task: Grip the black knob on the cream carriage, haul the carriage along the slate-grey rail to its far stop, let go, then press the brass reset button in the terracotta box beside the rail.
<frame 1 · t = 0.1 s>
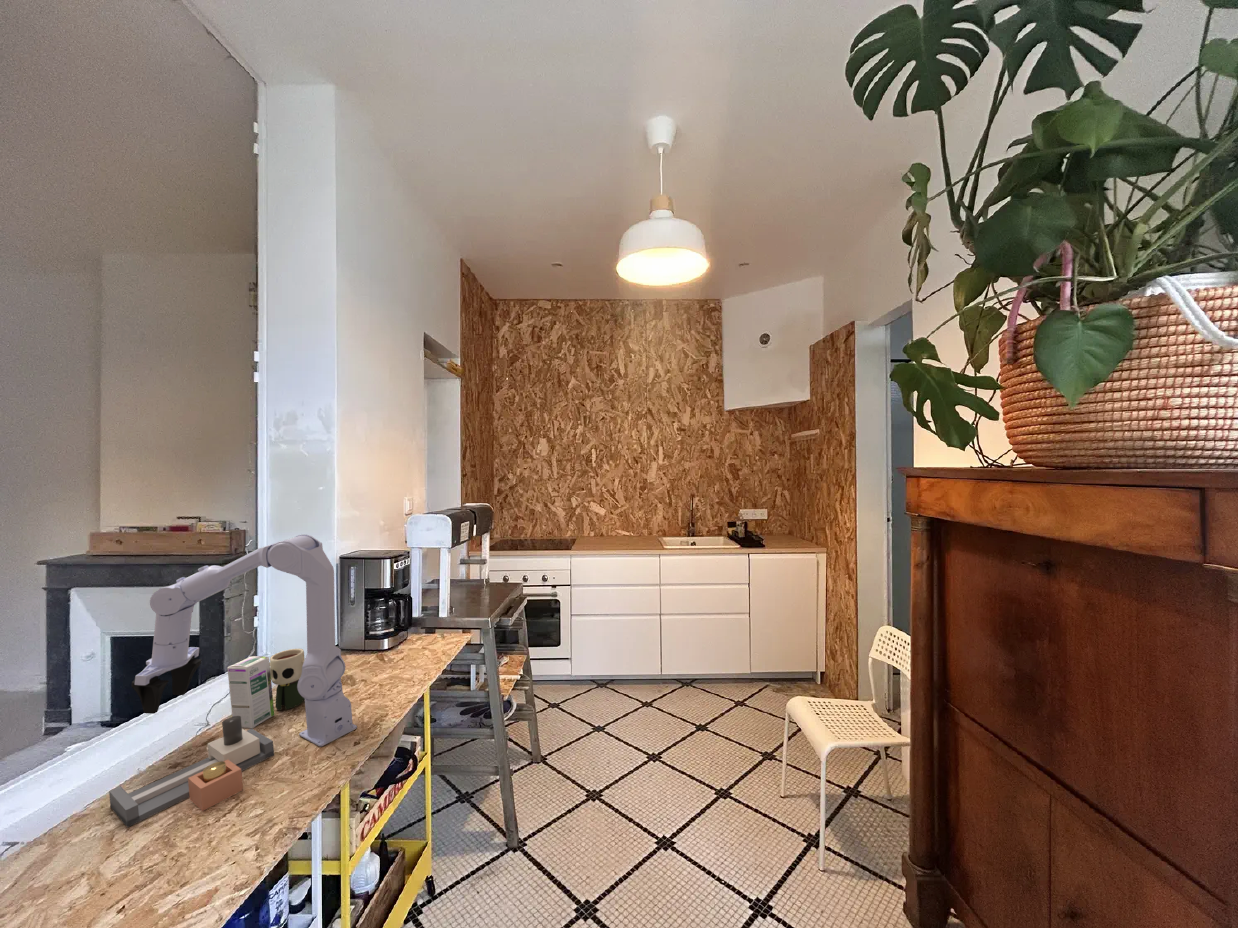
hand: (165, 703, 105), 11 cm above the counter, tool pointing down, fingers open, 7 cm apart
rail: (197, 779, 95), on the counter
character mug: (291, 706, 122), on the counter
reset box: (216, 794, 90), on the counter
reset button: (215, 774, 90), point 4 cm above the counter, slide at 0.0 cm
syrup box: (253, 722, 115), on the counter
carriage: (233, 737, 100), point 5 cm above the counter, slide at 0.0 cm
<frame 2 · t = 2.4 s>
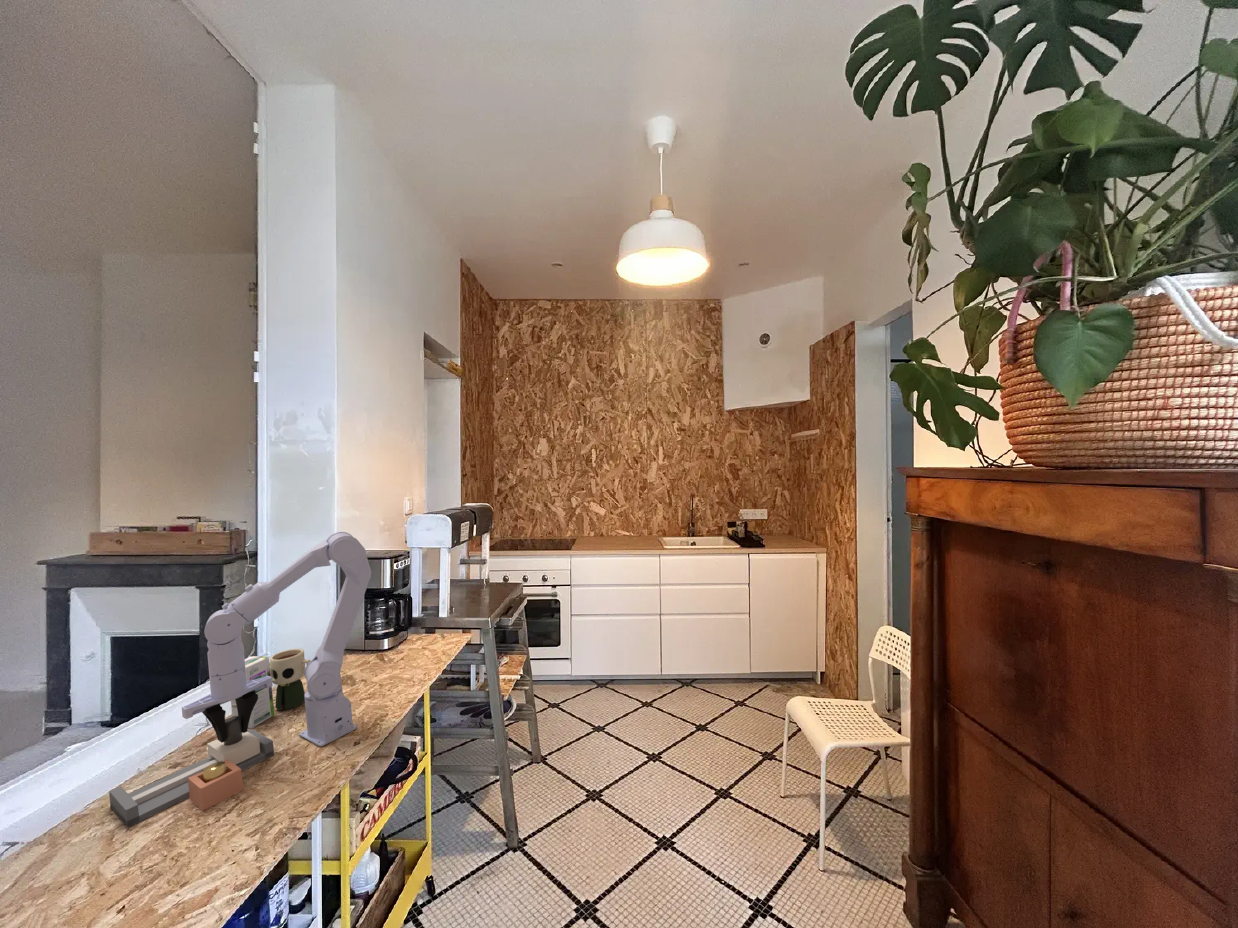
hand: (232, 735, 100), 5 cm above the counter, tool pointing down, fingers closed on carriage, 3 cm apart
carriage: (233, 737, 100), point 5 cm above the counter, slide at 0.0 cm, touching gripper
everything else where it was.
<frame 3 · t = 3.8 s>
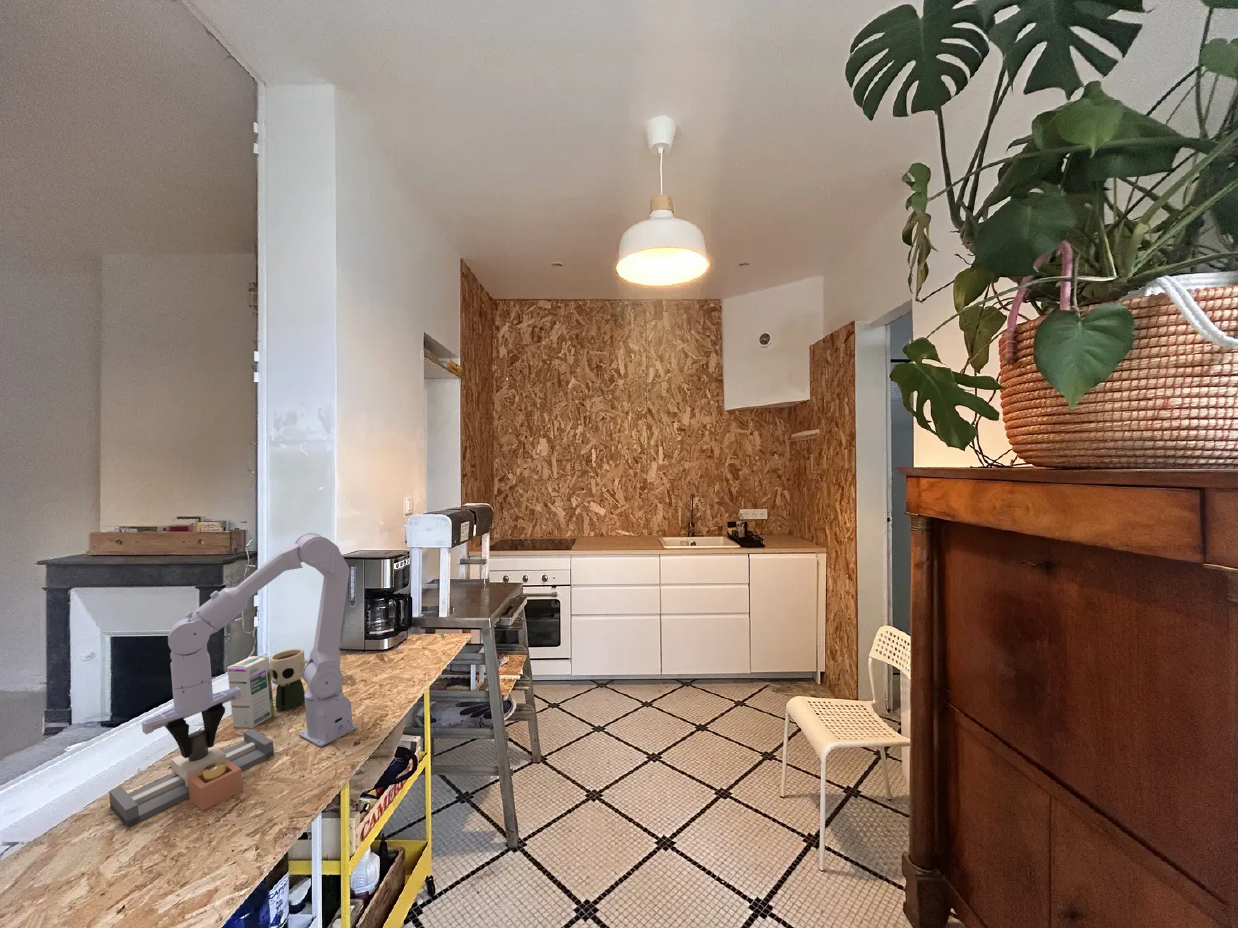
hand: (197, 750, 95), 5 cm above the counter, tool pointing down, fingers closed on carriage, 3 cm apart
carriage: (198, 752, 95), point 5 cm above the counter, slide at 5.6 cm, touching gripper
everything else where it was.
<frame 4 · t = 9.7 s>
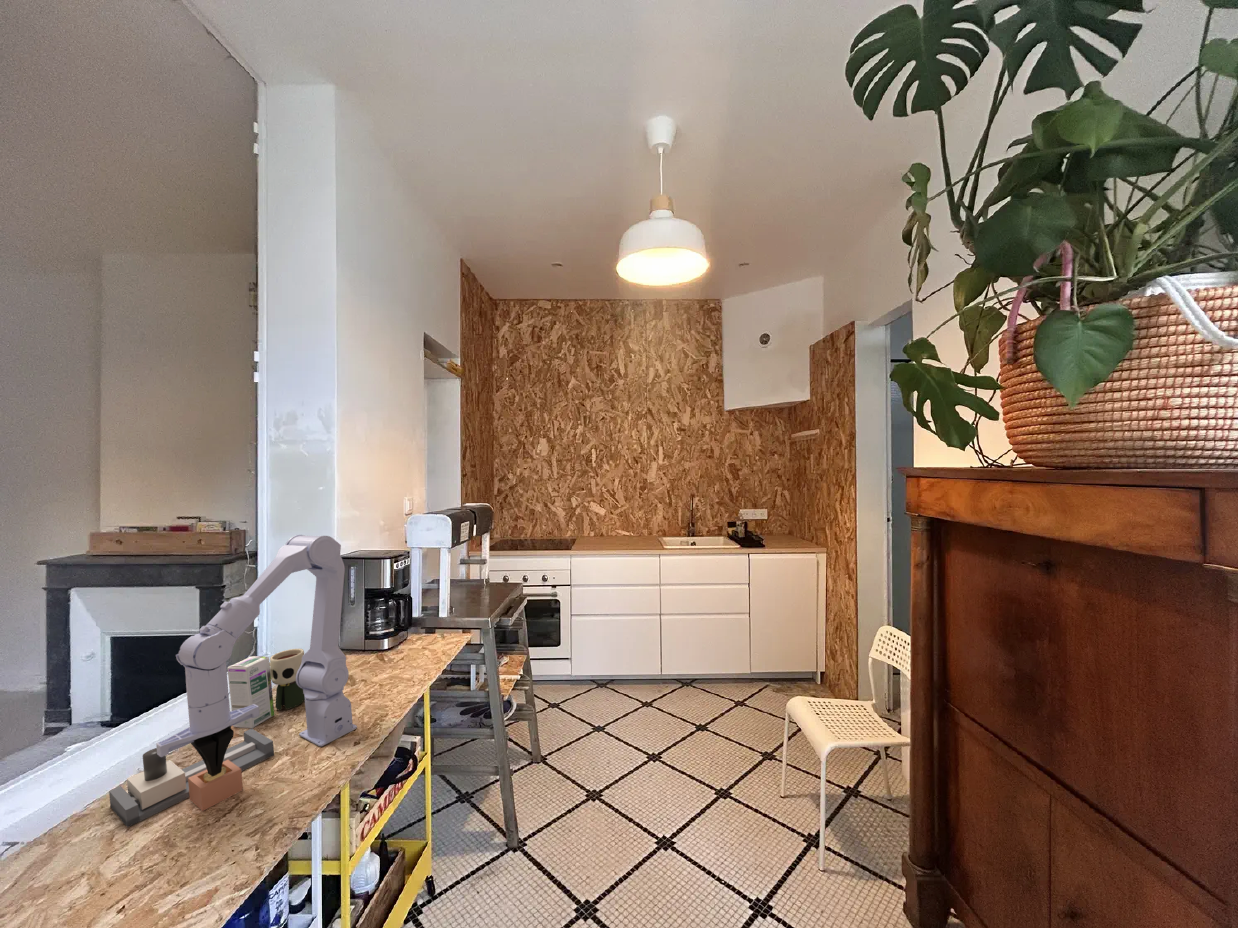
hand: (214, 772, 90), 4 cm above the counter, tool pointing down, fingers closed, pressing on reset button
reset button: (215, 780, 90), point 3 cm above the counter, slide at 1.0 cm, touching gripper
carriage: (155, 771, 90), point 5 cm above the counter, slide at 11.8 cm
everything else where it was.
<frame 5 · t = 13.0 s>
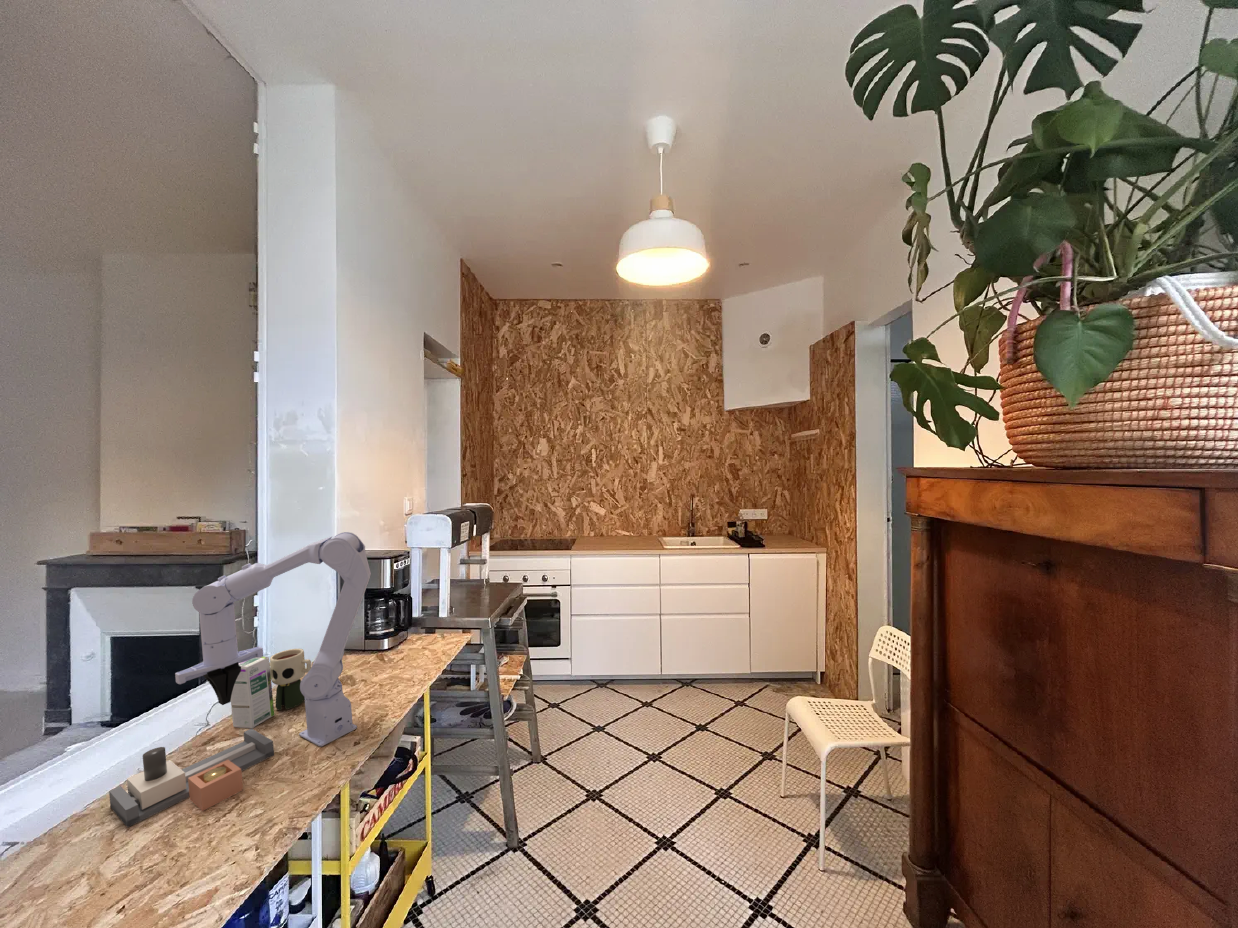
hand: (224, 702, 104), 10 cm above the counter, tool pointing down, fingers closed
reset button: (215, 780, 90), point 3 cm above the counter, slide at 1.0 cm
everything else where it was.
at the end: carriage slide at 11.8 cm; reset button slide at 1.0 cm; the gripper is holding nothing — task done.
